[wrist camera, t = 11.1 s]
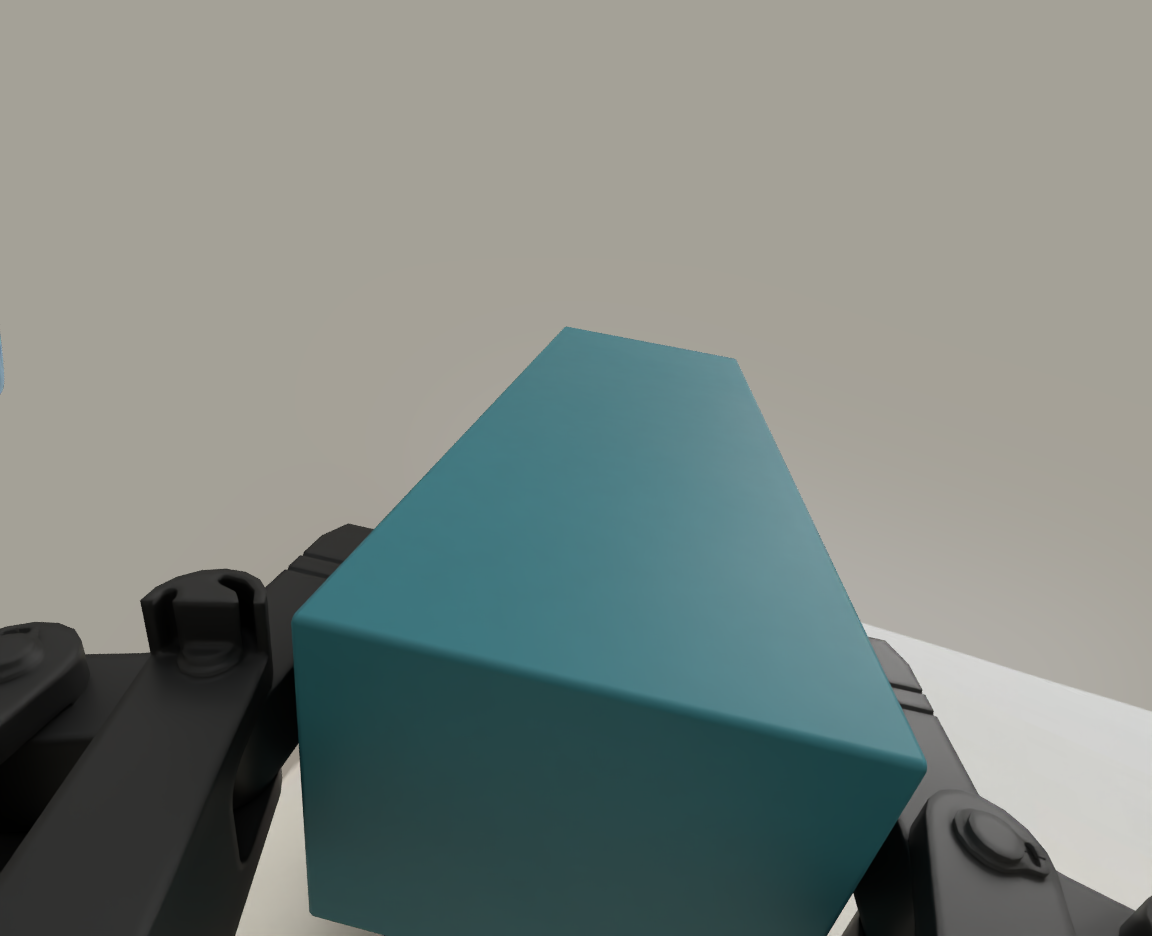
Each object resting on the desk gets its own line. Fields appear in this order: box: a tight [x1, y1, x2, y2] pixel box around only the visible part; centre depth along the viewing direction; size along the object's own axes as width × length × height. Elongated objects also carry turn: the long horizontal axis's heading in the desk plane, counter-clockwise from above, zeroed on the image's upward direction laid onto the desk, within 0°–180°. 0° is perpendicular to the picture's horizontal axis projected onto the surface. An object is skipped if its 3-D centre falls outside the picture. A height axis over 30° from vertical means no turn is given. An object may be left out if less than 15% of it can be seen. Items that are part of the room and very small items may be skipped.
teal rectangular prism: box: [291, 327, 927, 936], centre depth 13 cm, size 6×16×5 cm, turn 172°
